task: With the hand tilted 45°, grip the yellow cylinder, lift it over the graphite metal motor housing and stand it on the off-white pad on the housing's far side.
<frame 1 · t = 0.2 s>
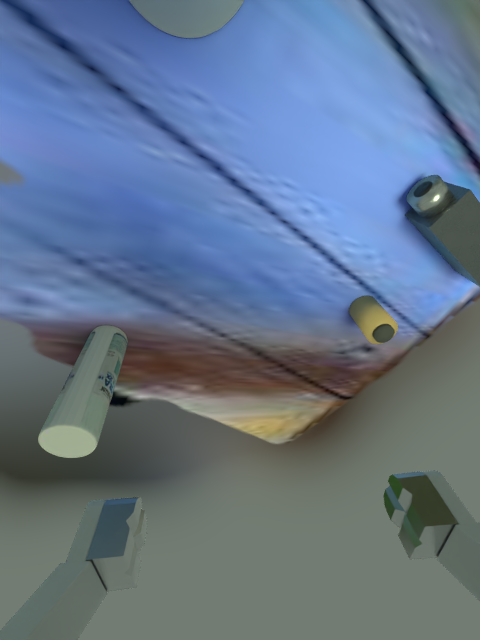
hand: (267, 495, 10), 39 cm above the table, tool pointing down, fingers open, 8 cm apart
motor housing: (449, 230, 48), on the table
yellow cylinder: (362, 307, 55), on the table
spray can: (109, 338, 53), on the table
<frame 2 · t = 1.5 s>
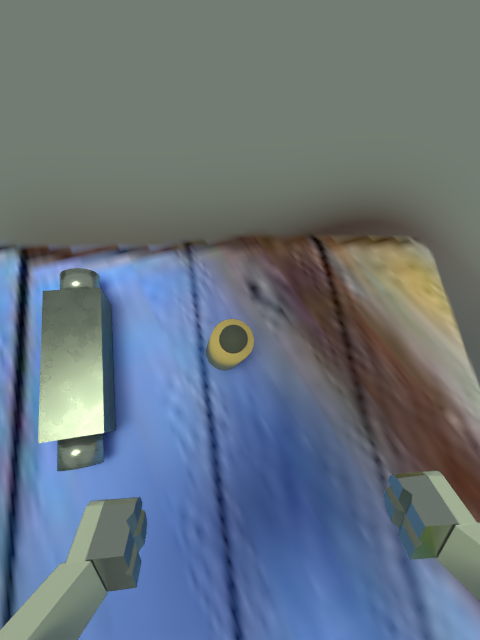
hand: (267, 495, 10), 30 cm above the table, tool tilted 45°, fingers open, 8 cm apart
motor housing: (88, 366, 38), on the table
yellow cylinder: (224, 351, 42), on the table
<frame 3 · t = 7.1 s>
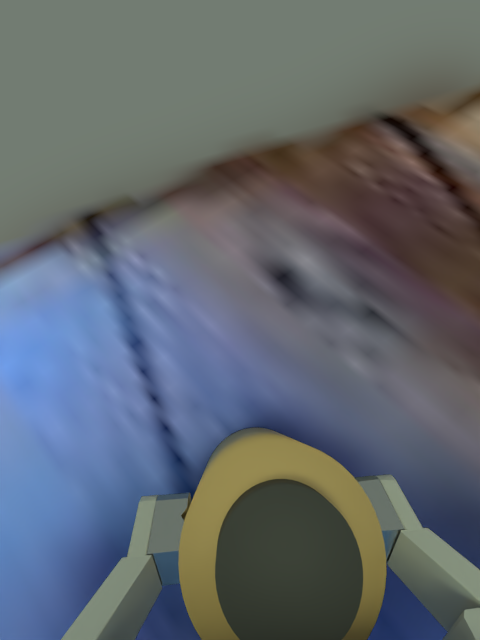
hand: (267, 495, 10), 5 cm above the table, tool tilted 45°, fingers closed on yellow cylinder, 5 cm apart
yellow cylinder: (257, 484, 14), on the table, touching gripper
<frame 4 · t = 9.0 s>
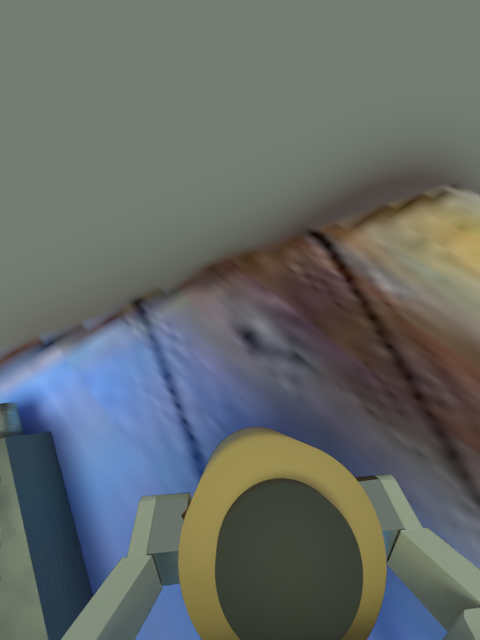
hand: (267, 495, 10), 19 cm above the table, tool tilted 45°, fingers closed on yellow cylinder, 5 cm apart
motor housing: (37, 542, 25), on the table
yellow cylinder: (257, 483, 14), point 14 cm above the table, touching gripper
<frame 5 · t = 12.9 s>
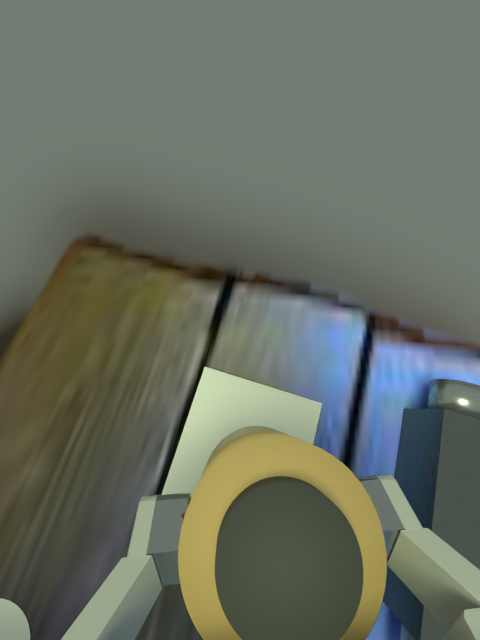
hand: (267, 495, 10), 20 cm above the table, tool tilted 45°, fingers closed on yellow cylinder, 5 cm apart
far side pad: (244, 446, 29), on the table
motor housing: (423, 504, 28), on the table
yellow cylinder: (257, 482, 14), point 16 cm above the table, touching gripper
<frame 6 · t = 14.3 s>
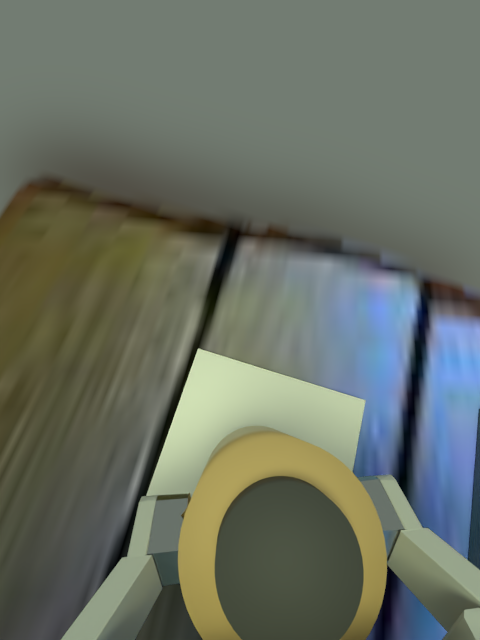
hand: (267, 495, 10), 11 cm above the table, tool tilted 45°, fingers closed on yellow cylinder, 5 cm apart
far side pad: (255, 462, 20), on the table
yellow cylinder: (257, 482, 14), point 6 cm above the table, touching gripper
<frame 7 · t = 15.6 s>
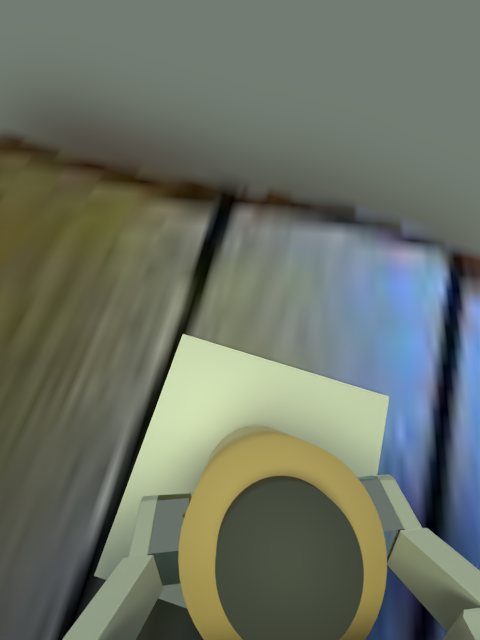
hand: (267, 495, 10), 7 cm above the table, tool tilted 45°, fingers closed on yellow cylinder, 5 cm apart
far side pad: (253, 474, 16), on the table
yellow cylinder: (257, 482, 14), point 2 cm above the table, touching gripper
when the fingers open (7 cm above the table, at t = 15.6 s): yellow cylinder drops 1 cm, resting on far side pad.
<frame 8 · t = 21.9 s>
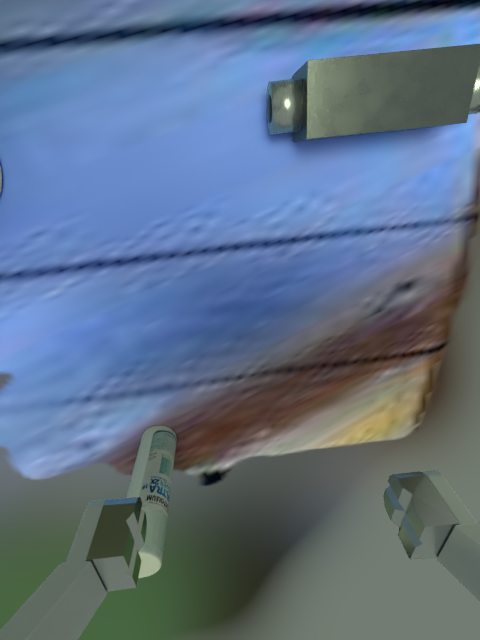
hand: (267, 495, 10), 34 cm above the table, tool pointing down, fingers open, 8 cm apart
motor housing: (363, 102, 34), on the table
spray can: (159, 436, 56), on the table
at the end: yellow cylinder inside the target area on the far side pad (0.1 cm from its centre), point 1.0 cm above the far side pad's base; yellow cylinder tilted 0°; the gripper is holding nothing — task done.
